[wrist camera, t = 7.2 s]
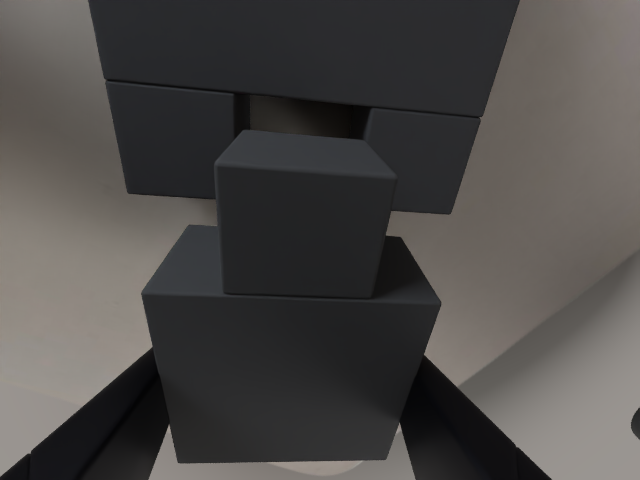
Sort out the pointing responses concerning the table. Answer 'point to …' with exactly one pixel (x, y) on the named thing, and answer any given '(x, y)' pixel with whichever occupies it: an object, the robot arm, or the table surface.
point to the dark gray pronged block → (300, 82)
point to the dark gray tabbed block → (290, 308)
